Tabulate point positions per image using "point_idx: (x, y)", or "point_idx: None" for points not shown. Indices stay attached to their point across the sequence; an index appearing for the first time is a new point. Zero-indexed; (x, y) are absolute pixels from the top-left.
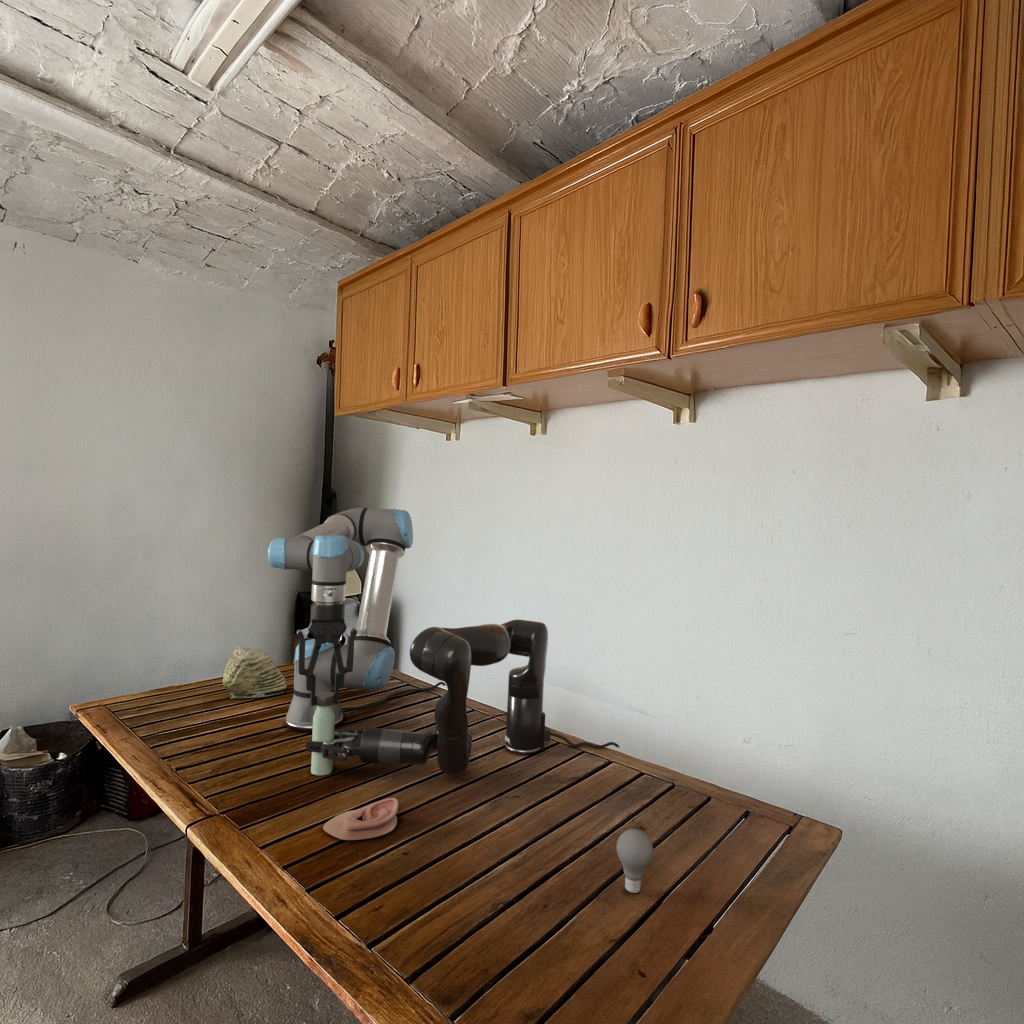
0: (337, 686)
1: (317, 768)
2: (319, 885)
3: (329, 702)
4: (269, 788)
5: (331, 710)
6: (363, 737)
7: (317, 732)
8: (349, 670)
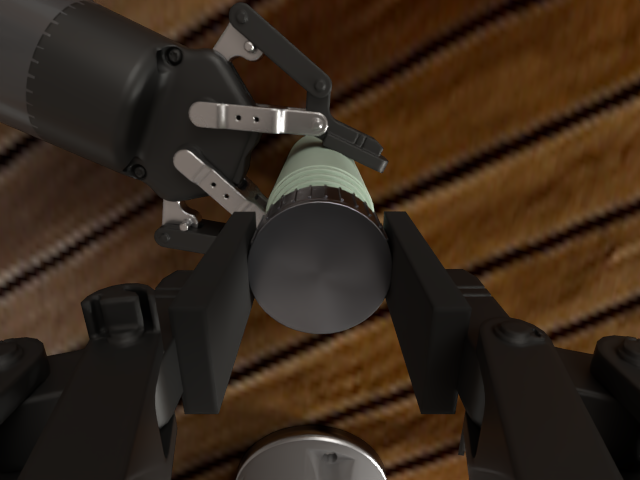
0: (217, 258)
1: None
2: None
3: (292, 195)
4: (486, 81)
5: None
6: (140, 59)
7: (350, 165)
8: (18, 347)
